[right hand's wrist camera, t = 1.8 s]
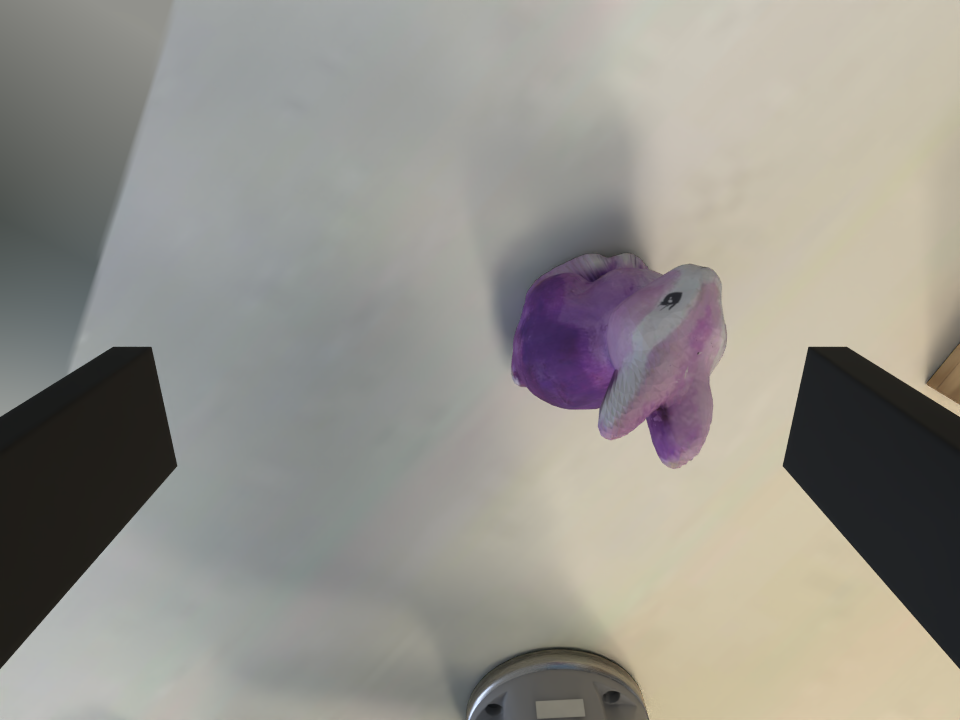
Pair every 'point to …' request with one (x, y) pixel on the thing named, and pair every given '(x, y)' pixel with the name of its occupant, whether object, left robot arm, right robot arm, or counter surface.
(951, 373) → the cabinet
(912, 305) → the counter surface
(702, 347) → the figurine
